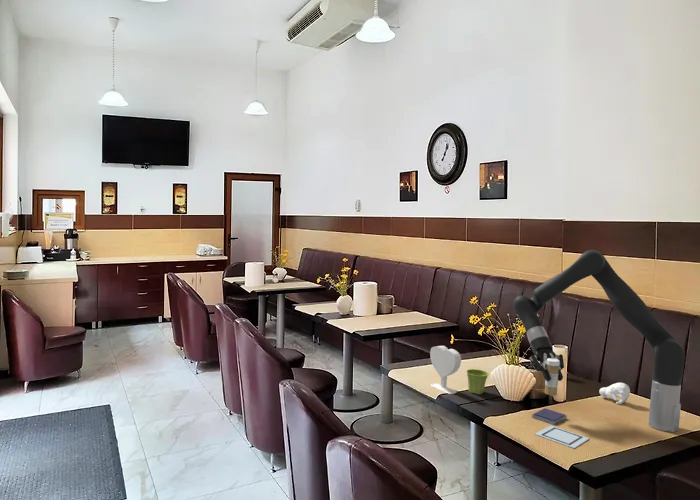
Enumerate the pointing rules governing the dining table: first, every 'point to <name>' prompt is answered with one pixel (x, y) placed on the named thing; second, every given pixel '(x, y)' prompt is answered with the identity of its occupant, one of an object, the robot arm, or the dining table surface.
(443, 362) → the heart sculpture
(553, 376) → the sprinkles bottle
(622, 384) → the white bear figurine
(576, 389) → the dining table surface
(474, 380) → the plant pot
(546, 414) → the ink pad
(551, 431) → the print card
